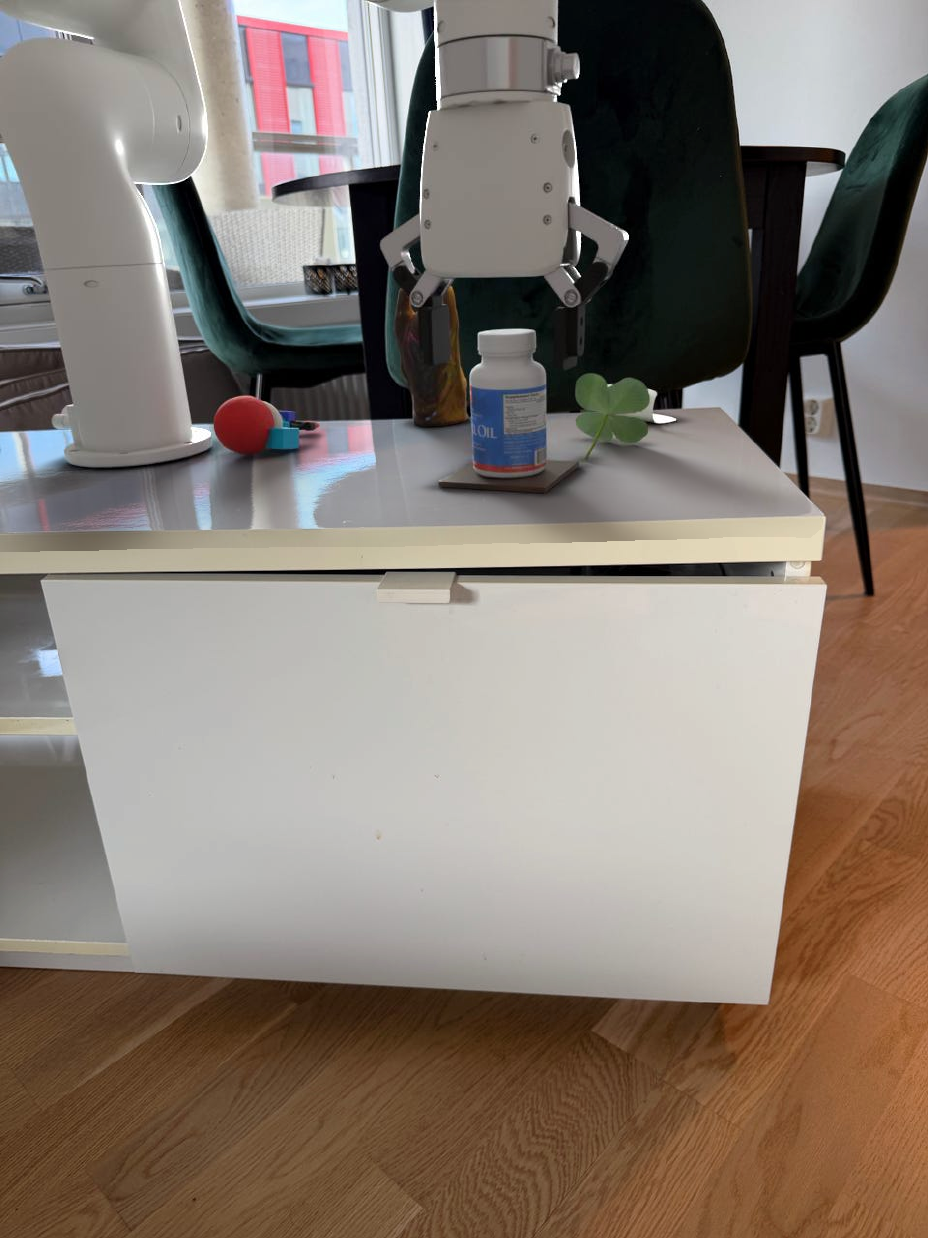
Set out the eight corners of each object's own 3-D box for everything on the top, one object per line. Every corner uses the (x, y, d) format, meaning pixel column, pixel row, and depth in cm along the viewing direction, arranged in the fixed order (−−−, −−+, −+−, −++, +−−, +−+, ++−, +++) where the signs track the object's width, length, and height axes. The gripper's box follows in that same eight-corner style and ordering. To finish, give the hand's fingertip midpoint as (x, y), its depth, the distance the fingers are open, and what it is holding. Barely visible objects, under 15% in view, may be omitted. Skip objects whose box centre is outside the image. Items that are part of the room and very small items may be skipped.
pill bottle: (462, 468, 66) (455, 331, 62) (527, 459, 68) (525, 325, 64) (490, 483, 61) (484, 336, 57) (559, 473, 63) (558, 330, 59)
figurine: (472, 414, 90) (464, 279, 85) (463, 426, 83) (454, 282, 79) (411, 416, 90) (400, 283, 86) (398, 428, 84) (385, 286, 79)
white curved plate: (624, 409, 88) (625, 379, 86) (682, 419, 81) (683, 386, 80) (595, 415, 86) (595, 383, 85) (652, 425, 80) (653, 391, 78)
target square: (438, 486, 63) (438, 481, 62) (481, 461, 69) (481, 456, 69) (545, 493, 60) (544, 487, 59) (579, 466, 66) (579, 461, 66)
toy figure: (254, 446, 87) (185, 453, 73) (254, 395, 86) (184, 392, 72) (328, 451, 86) (273, 459, 72) (329, 400, 85) (273, 397, 71)
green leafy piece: (593, 510, 73) (618, 454, 76) (649, 465, 66) (675, 406, 69) (523, 460, 71) (551, 406, 74) (573, 410, 64) (602, 352, 67)
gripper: (647, 78, 55) (634, 362, 62) (401, 102, 61) (413, 356, 68) (617, 59, 48) (605, 377, 55) (346, 88, 55) (365, 369, 62)
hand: (499, 365), depth 62 cm, fingers open, 9 cm apart
